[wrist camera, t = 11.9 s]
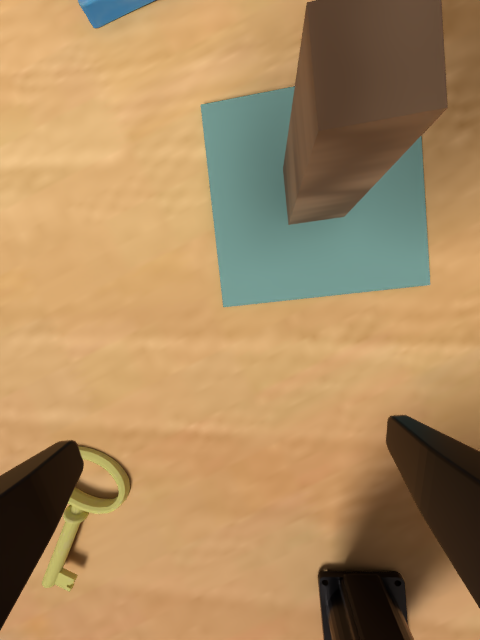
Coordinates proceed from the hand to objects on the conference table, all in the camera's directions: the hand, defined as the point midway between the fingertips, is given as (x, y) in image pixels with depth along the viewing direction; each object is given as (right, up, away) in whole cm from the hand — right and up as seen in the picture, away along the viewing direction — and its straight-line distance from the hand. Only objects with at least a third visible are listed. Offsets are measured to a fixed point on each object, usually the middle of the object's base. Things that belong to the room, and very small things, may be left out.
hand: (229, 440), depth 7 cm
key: (-14, -13, +16) cm, 25 cm away
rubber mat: (+6, +13, +11) cm, 18 cm away
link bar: (+6, +13, +11) cm, 18 cm away
